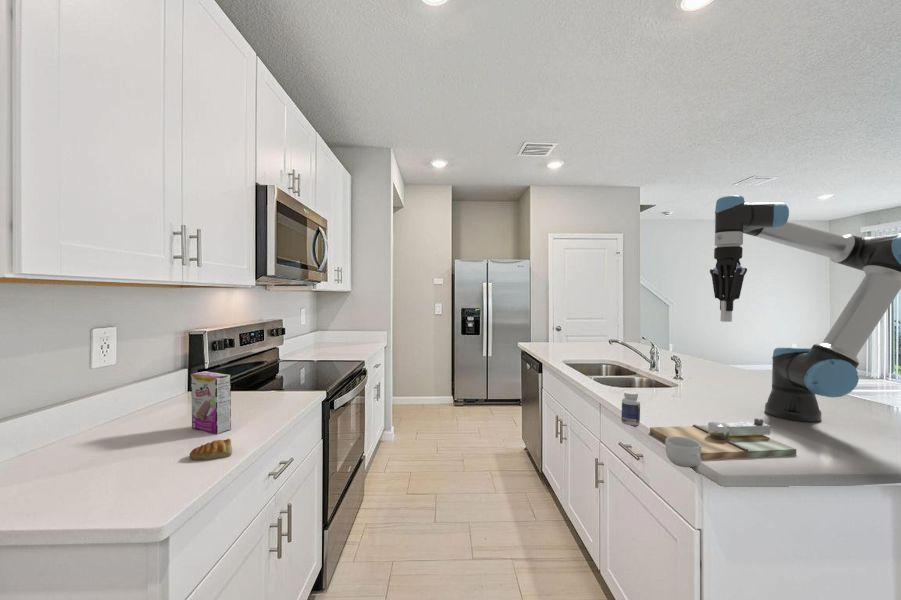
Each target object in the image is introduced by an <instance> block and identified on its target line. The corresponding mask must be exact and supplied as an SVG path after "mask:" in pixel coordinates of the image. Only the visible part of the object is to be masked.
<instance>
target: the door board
mask: <svg viewBox="0 0 901 600" xmlns="http://www.w3.org/2000/svg"><path fill="white" fill-rule="evenodd" d="M649 434H651V435H653V436H655V437H657V438H658V439H660V440H661V441H664V442H665V441H666V438H667V437H673V436H676V437H685V438H689V439H692V440H695V441H697V442H699V443H700V444H701V455H700V458H701V460H716V459H719V460H720V459H734V458H735V459H739V458H740V459H742V458H760V457H761V458H765V457H789V456H797V448H795V447H792V446H791V445H788V444H785V443H782V442H780V441H778V440H775V439H773V438H771V437H769V436H767V435H743V436H728V437H718V436H714V435H711V434H709V433H708V424H706V425H697V424H692V425H683V426H682V425H681V426H680V425H679V426H652V427H649Z"/></svg>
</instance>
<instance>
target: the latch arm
mask: <svg viewBox="0 0 901 600" xmlns="http://www.w3.org/2000/svg"><path fill="white" fill-rule="evenodd" d="M707 425H708V433H709V434H711V435H714V436H718V437H728V436H743V435H764V436H767V435H768V436H769V435H771V425H769V424H767V423H764V420H763V419H761V418H754V419H753V421H739V422H738V421H737V422H733V421H732V422H717V421H710V422H708V424H707Z"/></svg>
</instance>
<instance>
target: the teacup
mask: <svg viewBox="0 0 901 600" xmlns="http://www.w3.org/2000/svg"><path fill="white" fill-rule="evenodd" d="M664 443H665V444H664V445H665V454H666V458H667V459H668V460H669V461H670V462H671V463H672V464H673V465H675V466H678V467H681V468H693V467H695V466H697V465H700V464H701V462H702V459H701V458H700V455H701V444H700V443H699V442H697V441H695V440H692V439H689V438H685V437H676V436H673V437H667V438H666V441H664Z"/></svg>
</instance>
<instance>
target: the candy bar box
mask: <svg viewBox="0 0 901 600" xmlns="http://www.w3.org/2000/svg"><path fill="white" fill-rule="evenodd" d="M190 381H191V382H190V385H191V391H190V392H191V393H190V394H191V429H193V430H197V431H201V432H206V433H211V434H215V435H220V434H223V433H226V432H228V431H231V430H232V408H231V406H232V405H231V404H232V403H231V402H232V399H231V396H232V395H231V393H232V391H231V384H232V383H231V374H227V373H226V374H225V373H219V372H213V371H212V372H211V371H207V370H206V371H199V372H195V373H191V374H190Z"/></svg>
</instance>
